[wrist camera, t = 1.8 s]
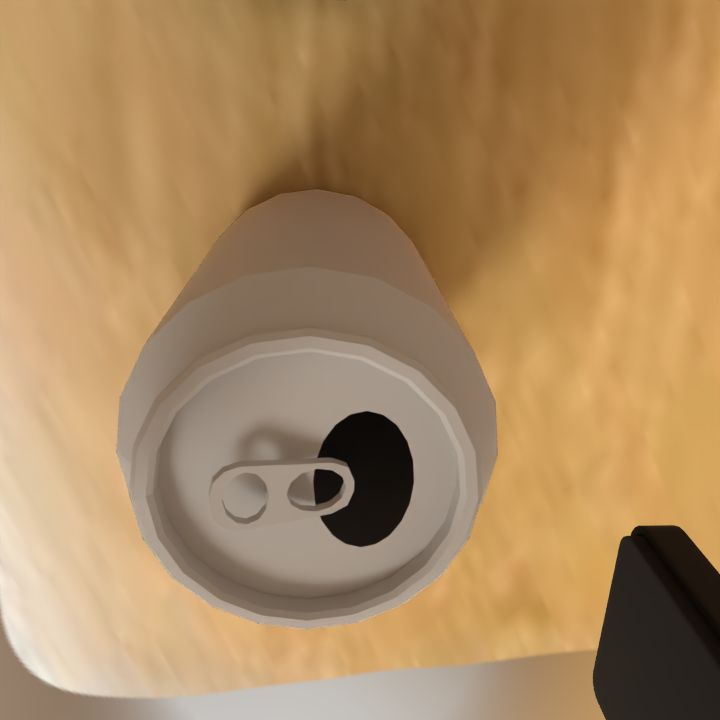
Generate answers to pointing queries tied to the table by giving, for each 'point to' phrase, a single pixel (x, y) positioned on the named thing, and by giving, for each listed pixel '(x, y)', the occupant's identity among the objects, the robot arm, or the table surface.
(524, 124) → the table surface
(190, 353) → the can
